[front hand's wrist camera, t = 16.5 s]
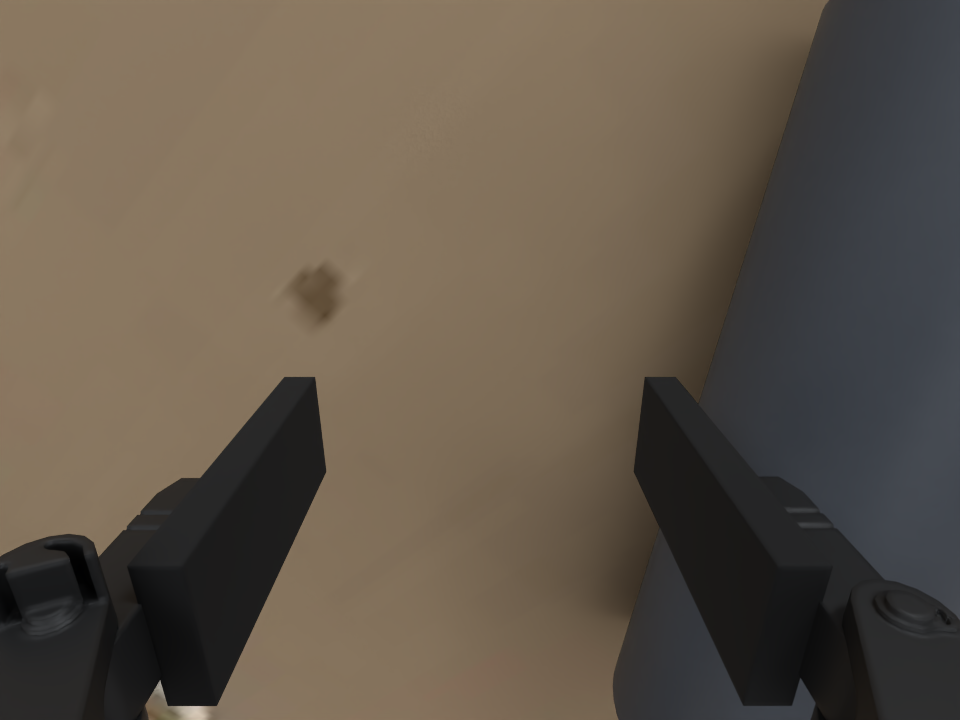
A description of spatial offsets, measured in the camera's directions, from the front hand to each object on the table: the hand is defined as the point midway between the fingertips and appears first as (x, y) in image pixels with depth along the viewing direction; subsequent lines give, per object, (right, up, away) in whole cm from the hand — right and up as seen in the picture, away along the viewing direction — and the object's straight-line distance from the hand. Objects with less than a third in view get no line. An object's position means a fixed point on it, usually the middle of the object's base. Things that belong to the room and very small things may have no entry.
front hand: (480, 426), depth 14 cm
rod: (+12, 0, +7) cm, 14 cm away
